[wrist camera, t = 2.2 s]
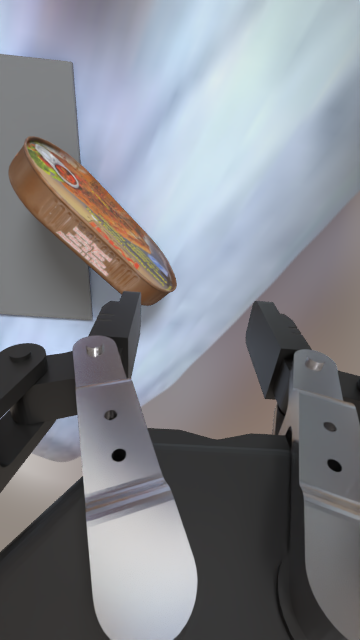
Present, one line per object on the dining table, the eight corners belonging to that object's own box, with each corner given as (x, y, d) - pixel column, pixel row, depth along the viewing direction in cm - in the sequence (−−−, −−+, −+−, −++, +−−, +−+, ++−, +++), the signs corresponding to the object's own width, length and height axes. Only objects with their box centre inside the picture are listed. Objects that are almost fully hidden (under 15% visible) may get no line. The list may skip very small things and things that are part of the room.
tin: (177, 265, 30) (182, 304, 23) (154, 285, 31) (152, 327, 24) (54, 133, 24) (7, 128, 16) (30, 162, 25) (-24, 170, 17)
